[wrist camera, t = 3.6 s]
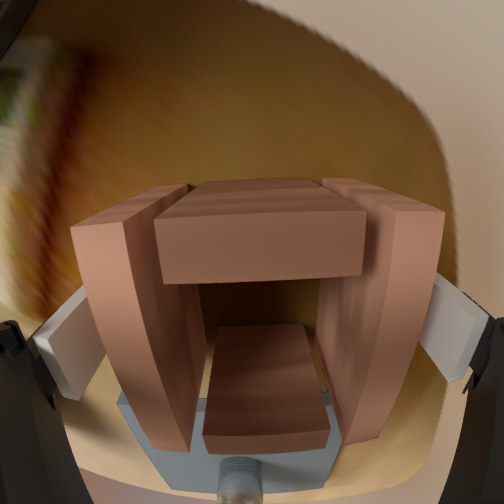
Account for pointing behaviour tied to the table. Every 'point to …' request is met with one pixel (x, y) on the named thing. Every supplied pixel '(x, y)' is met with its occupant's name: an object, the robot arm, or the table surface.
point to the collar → (261, 336)
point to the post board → (207, 465)
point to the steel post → (240, 481)
